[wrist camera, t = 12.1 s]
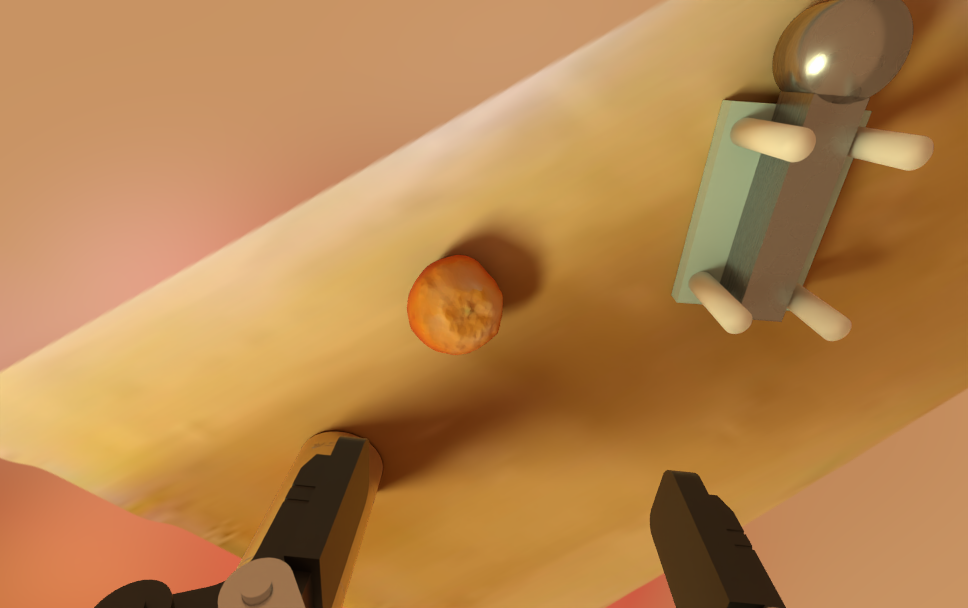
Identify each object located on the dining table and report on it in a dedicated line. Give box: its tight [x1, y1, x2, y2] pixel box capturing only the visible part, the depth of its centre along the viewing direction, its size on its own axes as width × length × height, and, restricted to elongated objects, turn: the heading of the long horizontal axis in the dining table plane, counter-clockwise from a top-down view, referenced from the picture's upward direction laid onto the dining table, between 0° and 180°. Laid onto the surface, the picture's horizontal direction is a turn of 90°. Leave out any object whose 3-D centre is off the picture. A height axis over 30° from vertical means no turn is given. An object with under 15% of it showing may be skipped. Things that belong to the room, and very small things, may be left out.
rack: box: [671, 100, 934, 341], centre depth 35 cm, size 16×10×8 cm, turn 176°
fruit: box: [407, 255, 503, 355], centre depth 40 cm, size 8×8×8 cm
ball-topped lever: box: [720, 0, 913, 322], centre depth 33 cm, size 24×6×4 cm, turn 176°
